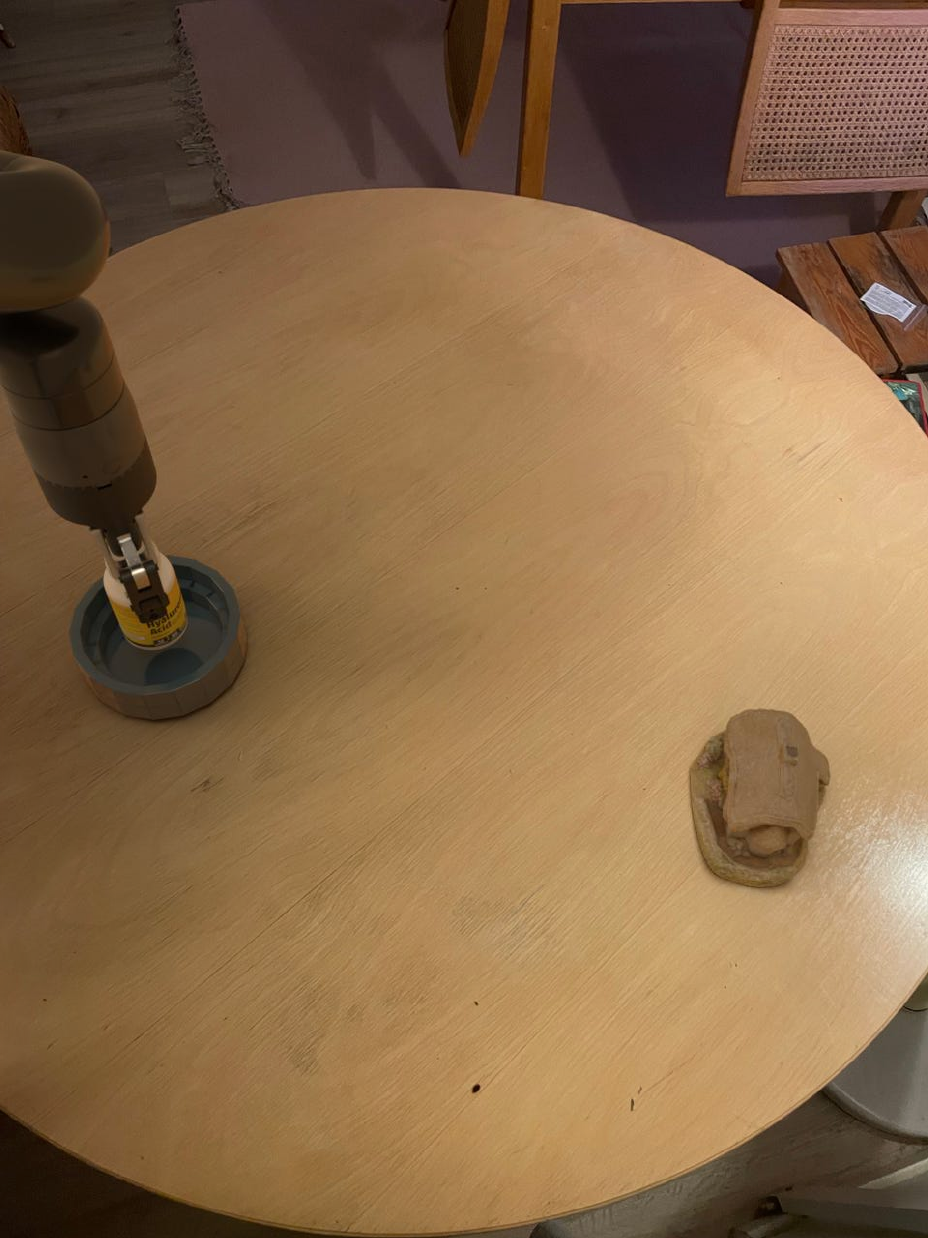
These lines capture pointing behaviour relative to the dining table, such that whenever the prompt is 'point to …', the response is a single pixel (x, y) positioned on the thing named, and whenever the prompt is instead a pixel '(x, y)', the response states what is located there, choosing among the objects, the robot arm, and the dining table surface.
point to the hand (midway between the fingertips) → (141, 587)
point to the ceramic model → (758, 797)
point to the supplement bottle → (157, 631)
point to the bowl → (170, 673)
